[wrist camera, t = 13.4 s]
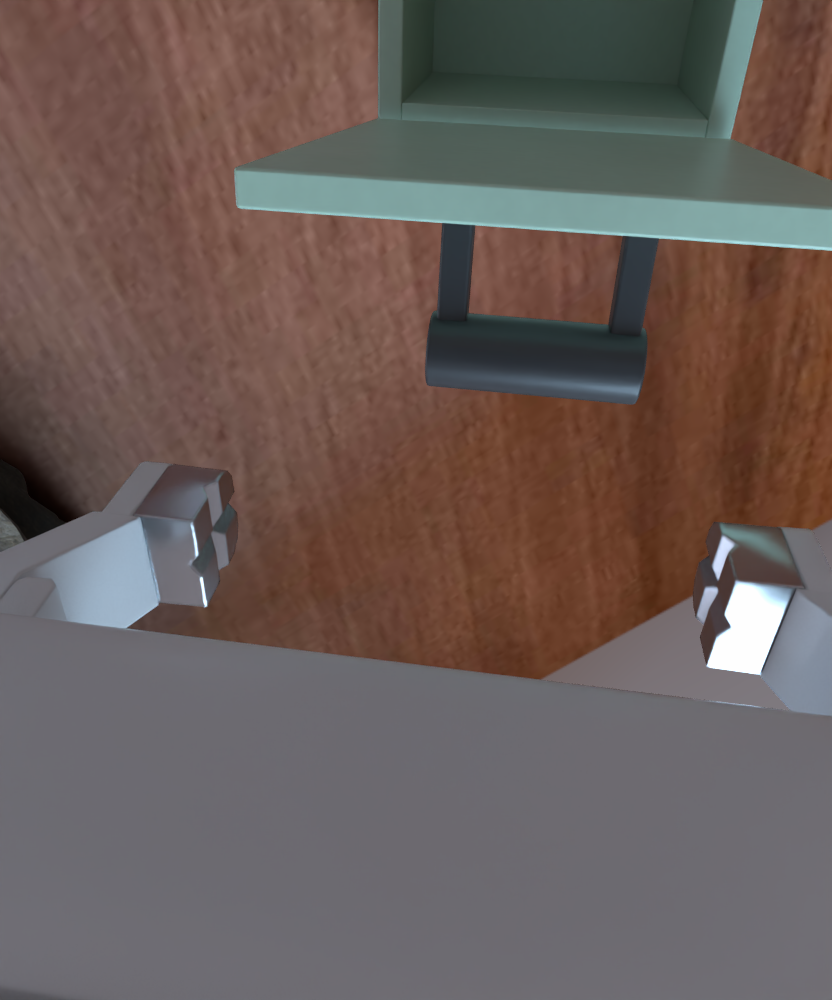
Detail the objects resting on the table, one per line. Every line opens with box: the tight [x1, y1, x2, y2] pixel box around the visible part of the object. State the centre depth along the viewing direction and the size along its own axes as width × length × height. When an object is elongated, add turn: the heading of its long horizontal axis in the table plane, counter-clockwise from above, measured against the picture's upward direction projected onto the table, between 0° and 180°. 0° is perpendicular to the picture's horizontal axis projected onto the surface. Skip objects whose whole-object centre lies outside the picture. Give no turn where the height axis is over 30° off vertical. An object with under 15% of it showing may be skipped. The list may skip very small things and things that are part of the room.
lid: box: [234, 118, 832, 404], centre depth 23 cm, size 16×13×5 cm
